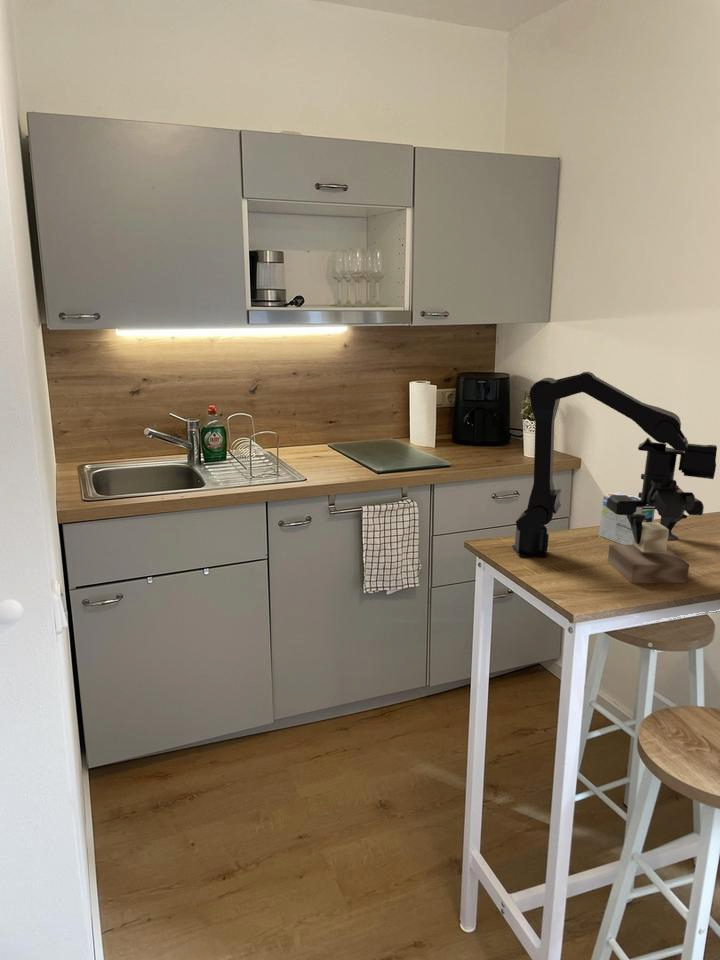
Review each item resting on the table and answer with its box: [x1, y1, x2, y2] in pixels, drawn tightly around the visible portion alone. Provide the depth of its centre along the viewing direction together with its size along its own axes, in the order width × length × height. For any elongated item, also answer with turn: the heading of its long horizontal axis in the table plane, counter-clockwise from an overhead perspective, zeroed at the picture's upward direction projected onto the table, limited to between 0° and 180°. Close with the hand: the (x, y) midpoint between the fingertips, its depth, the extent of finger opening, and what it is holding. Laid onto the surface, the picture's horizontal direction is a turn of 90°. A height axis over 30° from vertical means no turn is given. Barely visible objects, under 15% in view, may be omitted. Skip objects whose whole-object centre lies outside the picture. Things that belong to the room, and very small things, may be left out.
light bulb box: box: [598, 491, 656, 545], centre depth 175 cm, size 11×7×11 cm, turn 30°
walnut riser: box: [607, 544, 690, 584], centre depth 156 cm, size 12×12×4 cm
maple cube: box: [633, 521, 669, 552], centre depth 154 cm, size 5×5×5 cm
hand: (649, 543), depth 155 cm, fingers closed on maple cube, 5 cm apart
